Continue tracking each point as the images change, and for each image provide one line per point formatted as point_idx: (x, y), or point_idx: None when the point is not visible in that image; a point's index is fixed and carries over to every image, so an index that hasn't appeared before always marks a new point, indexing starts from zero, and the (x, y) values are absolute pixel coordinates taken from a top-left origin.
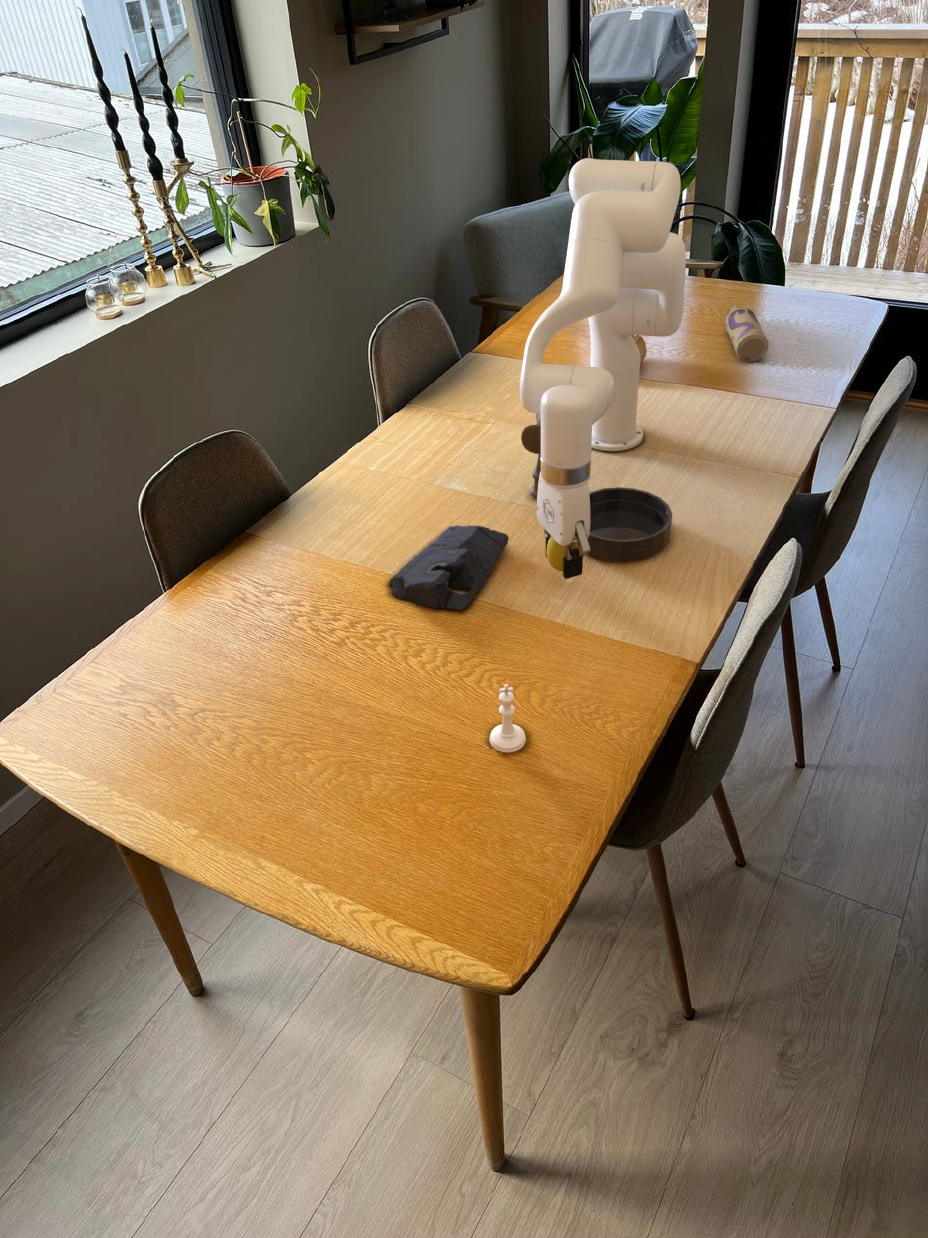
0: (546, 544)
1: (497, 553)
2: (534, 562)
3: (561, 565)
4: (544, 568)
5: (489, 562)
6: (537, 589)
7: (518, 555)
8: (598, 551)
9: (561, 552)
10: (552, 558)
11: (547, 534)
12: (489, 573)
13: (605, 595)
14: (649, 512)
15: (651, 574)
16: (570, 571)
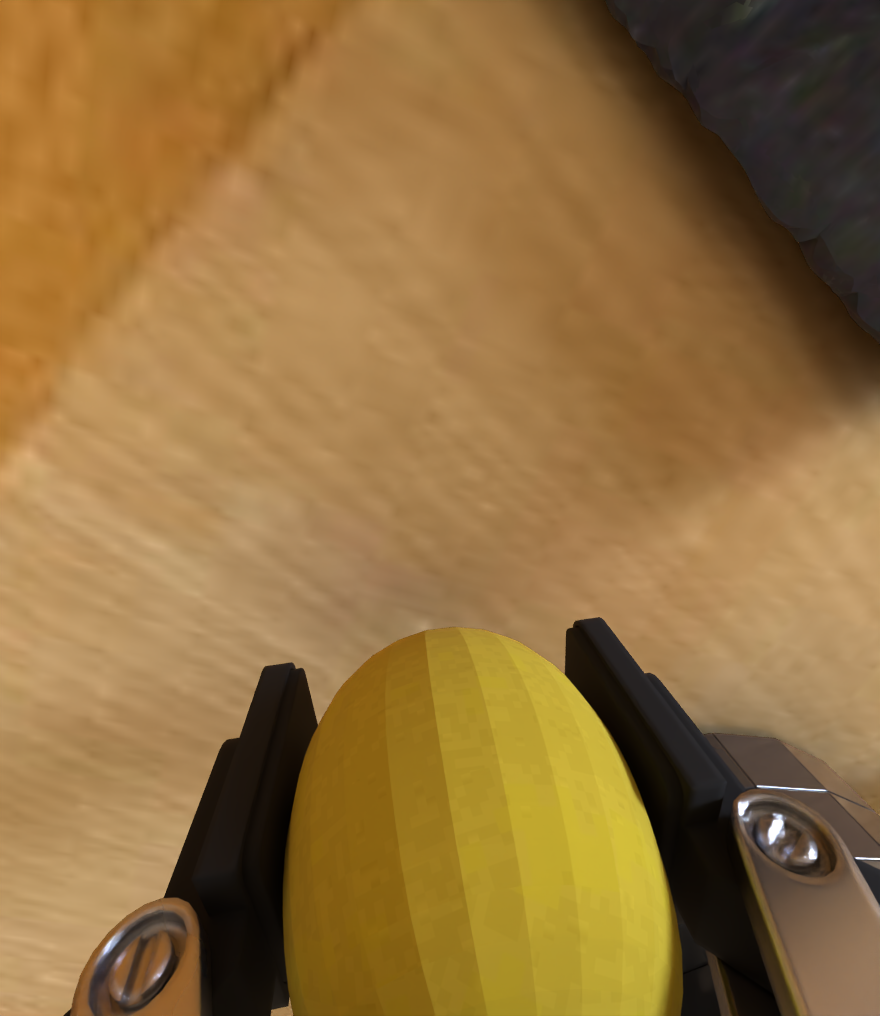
0: (648, 712)
1: (874, 279)
2: (668, 517)
3: (319, 726)
4: (589, 551)
5: (815, 143)
6: (409, 448)
7: (779, 452)
8: None
9: (305, 892)
10: (375, 715)
11: (736, 836)
12: (694, 112)
13: None
14: (695, 997)
15: None
16: (228, 760)
